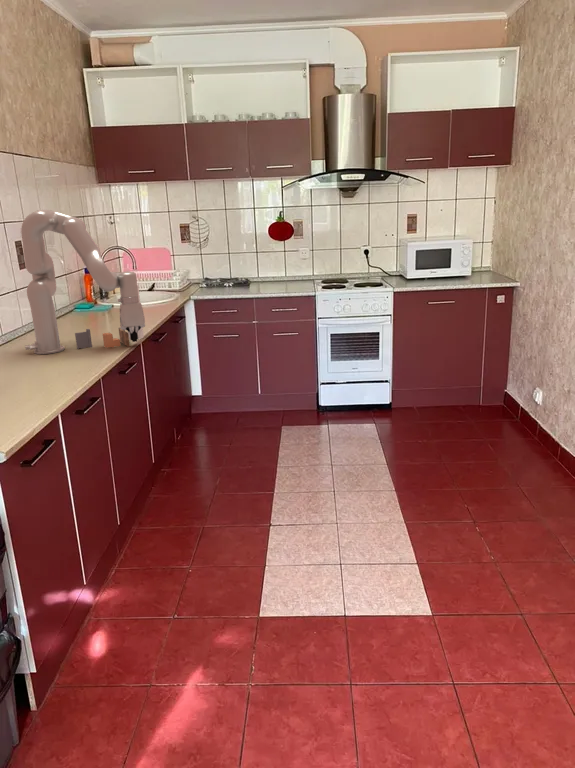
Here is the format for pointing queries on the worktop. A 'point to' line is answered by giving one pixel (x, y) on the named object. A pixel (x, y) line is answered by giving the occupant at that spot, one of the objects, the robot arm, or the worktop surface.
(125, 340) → the door
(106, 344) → the orange l-shaped block
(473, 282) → the worktop surface
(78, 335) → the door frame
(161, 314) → the worktop surface
